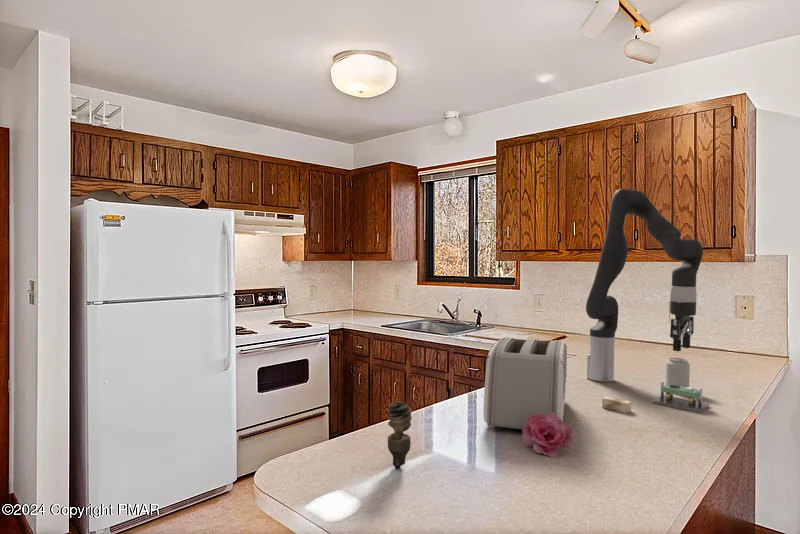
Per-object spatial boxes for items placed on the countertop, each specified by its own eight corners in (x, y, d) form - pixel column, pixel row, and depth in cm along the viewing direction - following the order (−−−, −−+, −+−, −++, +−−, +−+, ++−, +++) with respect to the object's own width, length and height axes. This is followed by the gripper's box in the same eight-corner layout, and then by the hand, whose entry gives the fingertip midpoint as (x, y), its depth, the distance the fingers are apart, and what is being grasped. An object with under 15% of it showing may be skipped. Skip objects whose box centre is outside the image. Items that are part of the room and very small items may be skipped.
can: (692, 394, 185) (692, 361, 185) (669, 393, 186) (669, 360, 186) (685, 389, 192) (685, 357, 192) (663, 388, 194) (663, 356, 193)
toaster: (566, 398, 179) (567, 333, 178) (562, 441, 136) (564, 356, 136) (503, 392, 186) (504, 329, 185) (481, 432, 143) (482, 350, 143)
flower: (559, 472, 125) (538, 441, 123) (531, 461, 134) (512, 431, 131) (587, 439, 129) (567, 408, 127) (558, 430, 138) (540, 401, 136)
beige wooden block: (602, 407, 168) (602, 398, 168) (606, 405, 170) (606, 396, 170) (627, 413, 162) (627, 403, 162) (631, 411, 164) (631, 401, 164)
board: (661, 391, 173) (661, 384, 173) (668, 388, 177) (668, 381, 177) (694, 397, 166) (694, 390, 166) (700, 394, 170) (701, 387, 170)
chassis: (652, 403, 173) (652, 383, 173) (663, 397, 180) (664, 379, 180) (699, 412, 163) (699, 392, 163) (709, 406, 170) (709, 386, 170)
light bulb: (386, 463, 121) (386, 398, 120) (409, 462, 121) (410, 398, 121) (387, 473, 115) (388, 405, 115) (412, 472, 116) (413, 405, 115)
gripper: (678, 298, 178) (677, 345, 179) (662, 300, 169) (661, 350, 169) (703, 299, 173) (701, 348, 174) (688, 302, 163) (686, 353, 164)
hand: (681, 349), depth 171 cm, fingers open, 8 cm apart
